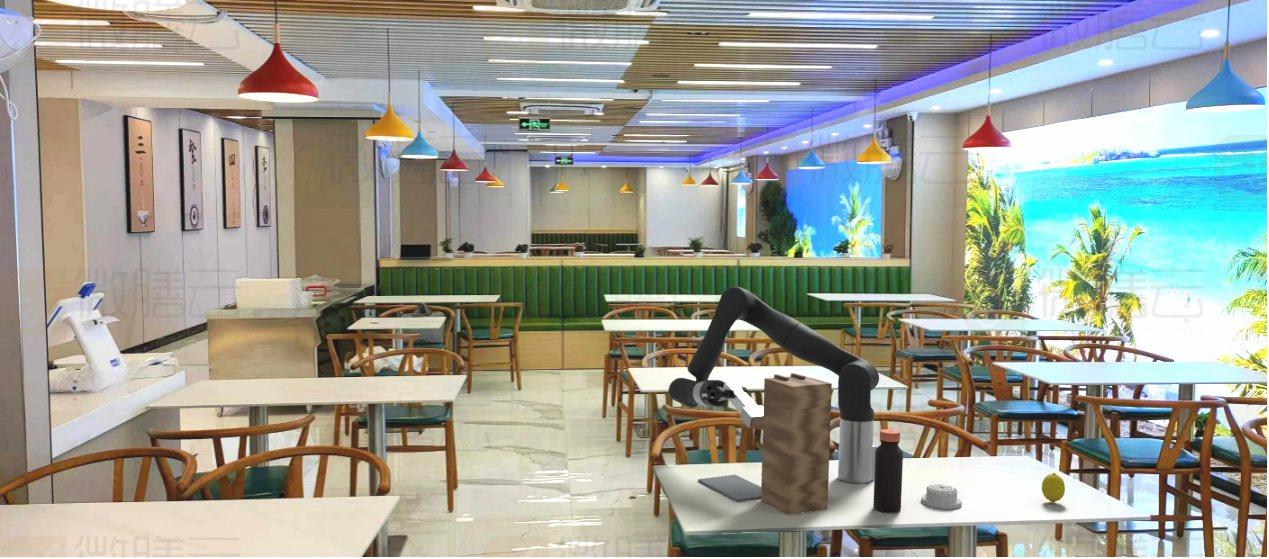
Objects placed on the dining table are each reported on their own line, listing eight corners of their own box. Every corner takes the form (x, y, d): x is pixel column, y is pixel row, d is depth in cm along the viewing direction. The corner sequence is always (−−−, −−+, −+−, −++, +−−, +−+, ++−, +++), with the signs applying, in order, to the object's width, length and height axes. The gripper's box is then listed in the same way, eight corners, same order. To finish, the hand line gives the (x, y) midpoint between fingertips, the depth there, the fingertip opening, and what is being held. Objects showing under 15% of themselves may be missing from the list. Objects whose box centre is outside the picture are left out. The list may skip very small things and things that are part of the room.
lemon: (1064, 501, 252) (1065, 471, 251) (1063, 507, 247) (1065, 476, 246) (1041, 498, 254) (1042, 469, 253) (1040, 504, 249) (1042, 474, 248)
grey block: (737, 391, 266) (739, 380, 264) (768, 426, 251) (771, 415, 249) (718, 393, 264) (720, 382, 262) (749, 428, 248) (751, 417, 247)
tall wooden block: (799, 495, 252) (803, 372, 250) (827, 509, 242) (831, 380, 239) (760, 501, 247) (764, 375, 245) (788, 514, 236) (792, 383, 234)
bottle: (886, 514, 238) (889, 435, 236) (867, 507, 244) (870, 429, 242) (906, 511, 241) (909, 432, 240) (887, 503, 247) (890, 427, 246)
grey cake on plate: (965, 511, 243) (956, 499, 253) (966, 494, 243) (957, 483, 252) (925, 509, 244) (917, 497, 254) (925, 492, 244) (918, 481, 254)
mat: (735, 476, 270) (735, 474, 269) (775, 496, 252) (775, 494, 252) (698, 481, 264) (698, 479, 264) (737, 501, 246) (737, 499, 246)
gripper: (687, 381, 272) (715, 381, 256) (731, 378, 277) (761, 377, 261) (689, 408, 271) (717, 409, 255) (733, 404, 277) (763, 405, 261)
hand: (739, 393), depth 259 cm, fingers closed on grey block, 3 cm apart
